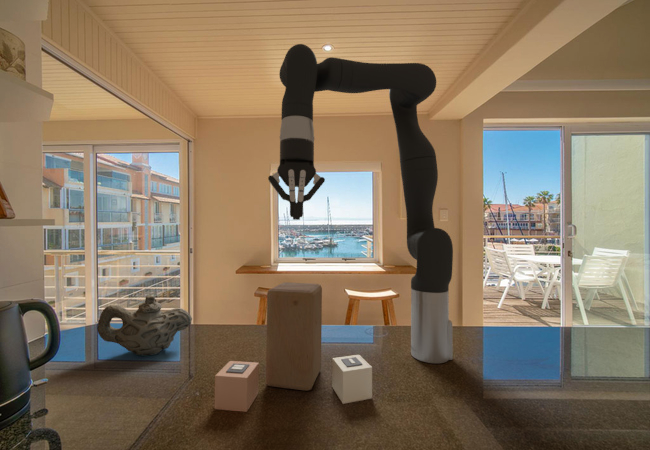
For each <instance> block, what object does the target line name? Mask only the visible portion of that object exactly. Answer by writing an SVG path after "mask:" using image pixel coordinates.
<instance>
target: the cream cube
mask: <svg viewBox="0 0 650 450" xmlns="http://www.w3.org/2000/svg"><path fill="white" fill-rule="evenodd" d="M331 367H332V368H331V369H332V371H331V374H332V375H331V376H332V377H331V378H332V379H331V380H332V382H331V384H332V389H333V391H334V392H335V394H336V395H337V397H338V399H339V400H340V402H341V403H342V404H343V405H344V404H348V403H349V404H350V403H355V402H359V401H360V402H361V401H364V400H365V401H366V400H372V399H373V366H372V365H370V364H369V363H368V361H366V359H364V358H363V357H362V356H361V355H360V354H353V355H347V356H338V357H332V366H331Z"/></svg>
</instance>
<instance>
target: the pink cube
mask: <svg viewBox="0 0 650 450" xmlns="http://www.w3.org/2000/svg"><path fill="white" fill-rule="evenodd" d="M259 365H260V362H252V361H239V360H238V361H235V360H229V361H228V362H226V364H225V365H224V366H223V367H222V368H221V369H219V371H218V372H217V373H216V374H215V376H214V410H223V411H232V412H233V411H235V412H245V413H246V412H248V410H249V409H250V407H251V406H252V404H253V403H254V401H255V399H256V398H257V396H258V394H259V390H260V389H259V384H260V383H259V381H260V379H259V378H260V377H259V376H260V373H259V372H260V370H259V369H260V366H259Z"/></svg>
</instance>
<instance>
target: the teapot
mask: <svg viewBox="0 0 650 450" xmlns="http://www.w3.org/2000/svg"><path fill="white" fill-rule="evenodd" d="M155 297H156V296H155V295H154V296H153V295H146V296H145V299H144V302H142V303H140V304H139V305H138V308H137V309H136V312H132V311H130V310H128V309H127V308H124V307H122V306H121V305H108V306H106V307H105V308H104V309H102V311H101V313H100V315H99V317H98V321H97V326H96V327H97V328H96V330H97V333H98V335H99V337H100V338H101V339H102V340H103V341H104V342H108V343H114V344H118V345H119V346H121V347H123V348H124V349H126V350H127V352H131V353H132V354H135V355H137V356H154V355H158V354H159V353H160V352H161V351H162V350H166V349H168V348H169V347H170V346H171V343H172V342H173V341H174V340H175V339H174V337H175V335H176V334H177V333H178V332H180V331H183V330H186V329H187V328H188V327H189V326H191V325H192V320H193V317H192V315H191V314H190V312H188V311H187V310H186V309H184V308H181V307H180V308H178V307H176V308H172V309H168V310H166V311H162V310H161V309H162V304H161V303H160V302H158V301H156V300H155V299H156V298H155ZM113 318H118V319H120V320H121V321H122V326H121V327H119V328H116V327H113V326H112V325H111V321H112V319H113Z"/></svg>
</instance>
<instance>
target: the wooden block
mask: <svg viewBox="0 0 650 450" xmlns="http://www.w3.org/2000/svg"><path fill="white" fill-rule="evenodd" d="M266 296H267V297H266V300H267V301H266V351H265V353H266V356H265V357H266V358H265V359H266V361H265V362H266V363H265V364H266V366H265V367H266V368H265V370H266V371H265V383H266V385H267V386H269V387H274V388H283V389H291V390H300V391H307V392H308V391H311V390H312V389H313V386H314V385H315V381H316V380H317V377H318V376H319V374H320V371H321V369H322V327H323V325H322V314H323V313H322V309H323V305H322V304H323V298H322V297H323V288H322V285H321V284H320V283H308V282H307V283H306V282H285V281H284V282H282V283H280V284H278V285H276V286H274V287H272V288H270V289H268V290H267V293H266Z"/></svg>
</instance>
